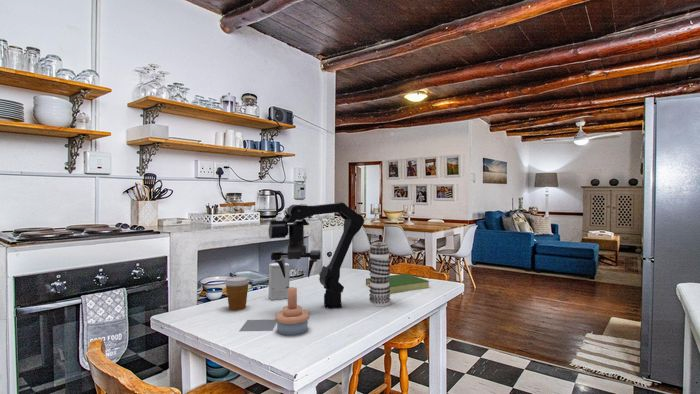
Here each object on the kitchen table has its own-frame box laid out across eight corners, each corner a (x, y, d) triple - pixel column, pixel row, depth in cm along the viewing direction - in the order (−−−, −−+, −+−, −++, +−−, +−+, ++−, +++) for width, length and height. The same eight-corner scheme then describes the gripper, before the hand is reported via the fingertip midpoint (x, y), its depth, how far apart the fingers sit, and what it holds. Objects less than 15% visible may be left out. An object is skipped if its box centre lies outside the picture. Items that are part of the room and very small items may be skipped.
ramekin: (308, 325, 130) (308, 313, 130) (306, 336, 120) (306, 323, 120) (279, 325, 130) (279, 313, 130) (274, 336, 120) (274, 323, 120)
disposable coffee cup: (229, 305, 154) (229, 275, 154) (252, 305, 154) (252, 275, 154) (221, 312, 145) (220, 281, 145) (245, 312, 144) (245, 281, 144)
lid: (302, 311, 132) (302, 283, 132) (313, 320, 122) (313, 290, 122) (271, 316, 127) (271, 286, 127) (280, 326, 118) (280, 294, 117)
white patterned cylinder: (370, 299, 161) (369, 240, 161) (391, 300, 159) (391, 241, 159) (366, 305, 152) (366, 243, 152) (389, 306, 150) (389, 244, 150)
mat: (278, 320, 135) (278, 319, 135) (272, 331, 124) (272, 330, 124) (247, 320, 135) (247, 319, 135) (239, 332, 124) (239, 331, 124)
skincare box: (270, 300, 160) (270, 265, 160) (268, 297, 166) (267, 263, 166) (290, 298, 164) (290, 264, 163) (287, 294, 169) (286, 261, 169)
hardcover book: (406, 280, 197) (406, 273, 197) (429, 288, 180) (429, 280, 180) (364, 286, 186) (364, 278, 186) (384, 295, 169) (384, 287, 169)
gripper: (268, 239, 137) (268, 282, 137) (319, 239, 138) (319, 282, 138) (273, 236, 148) (273, 275, 149) (320, 236, 149) (321, 275, 149)
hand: (296, 277), depth 146 cm, fingers open, 9 cm apart
